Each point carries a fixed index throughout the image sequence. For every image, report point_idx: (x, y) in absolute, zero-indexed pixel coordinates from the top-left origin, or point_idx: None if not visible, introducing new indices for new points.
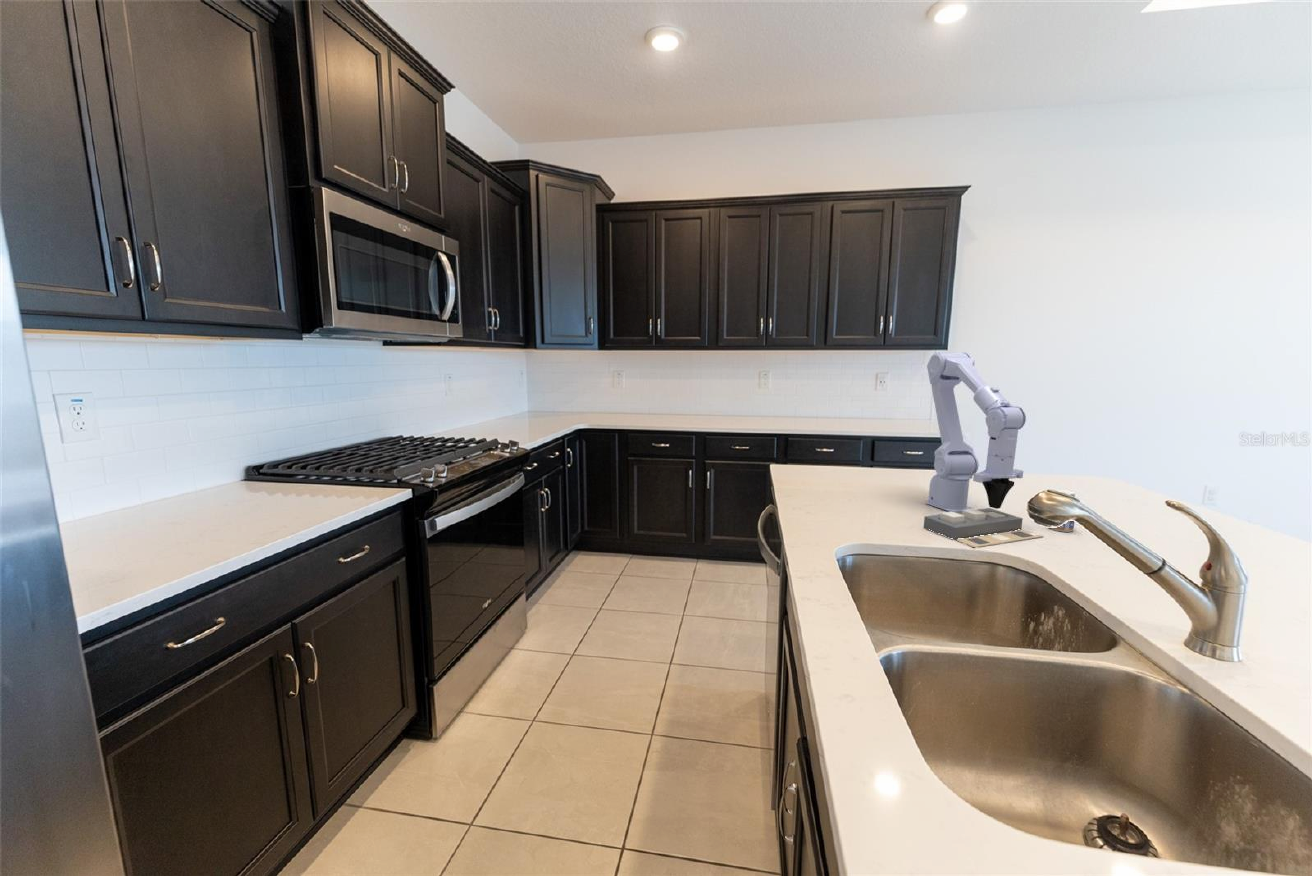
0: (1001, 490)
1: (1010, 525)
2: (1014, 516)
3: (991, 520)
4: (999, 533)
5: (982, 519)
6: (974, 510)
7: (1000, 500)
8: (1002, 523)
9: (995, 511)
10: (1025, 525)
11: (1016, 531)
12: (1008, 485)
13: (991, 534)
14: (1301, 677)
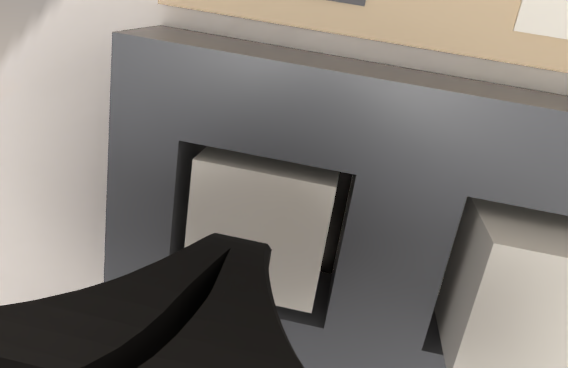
0: (244, 357)
1: (285, 55)
2: (131, 107)
3: (485, 155)
4: (468, 48)
5: (517, 222)
6: (501, 348)
7: (228, 270)
8: (402, 78)
9: None
10: (19, 73)
11: (268, 5)
12: (72, 362)
13: (565, 69)
14: None
